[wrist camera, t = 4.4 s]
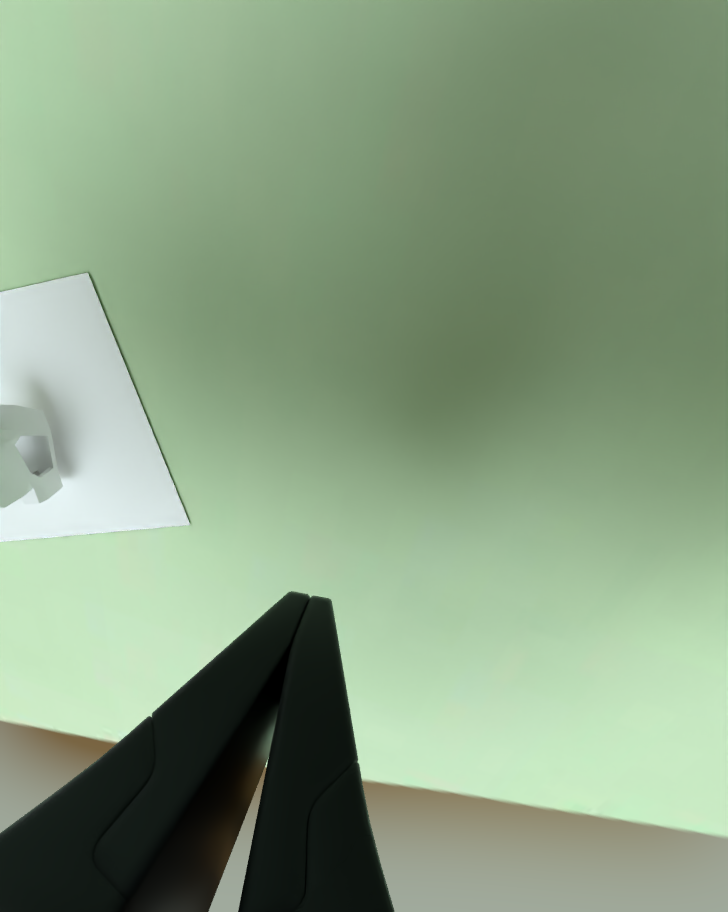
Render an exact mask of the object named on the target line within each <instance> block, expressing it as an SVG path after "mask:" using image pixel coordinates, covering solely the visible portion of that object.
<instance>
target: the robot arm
mask: <svg viewBox="0 0 728 912" xmlns="http://www.w3.org/2000/svg"><path fill="white" fill-rule="evenodd" d="M268 757H269V758H268ZM267 759H268V764H267V769H266V774H265V779H264V785H263V789H262V794H261V799H260V805H259V809H258V814H257V819H256V824H255V829H254V835H253V839H252V845H251V850H250V855H249V860H248V865H247V870H246V875H245V880H244V885H243V890H242V895H241V901H240V906H239V911H238V912H394V908H393V905H392V901H391V898H390V895H389V891H388V888H387V884H386V881H385V878H384V874H383V870H382V867H381V864H380V860H379V856H378V852H377V848H376V844H375V840H374V836H373V832H372V828H371V825H370V820H369V815H368V810H367V805H366V800H365V795H364V790H363V785H362V779H361V773H360V767H359V763H358V762H357V761H358V756H357V750H356V744H355V738H354V732H353V726H352V720H351V714H350V708H349V702H348V696H347V690H346V684H345V678H344V672H343V666H342V660H341V654H340V648H339V642H338V636H337V630H336V624H335V618H334V612H333V606H332V601H331V600H330V599H329V598H324V597H319V596H312V597H311V598H310V596H309V595H308V594H303V593H298V592H293V591H291V592H289V593H287V594H286V595H285V596H284V597H283V598H282V599H280V600H279V601H278V602H277V603H276V604H275V605H274V606H273V607H271V608H270V609H269V610H268V611H267V612H266V613H265V614H264V615H262V616H261V617H260V618H259V619H258V620H257V621H256V622H255V623H253V624H252V625H251V626H250V627H249V628H248V629H247V630H246V631H244V632H243V633H242V634H241V635H240V636H239V637H238V638H236V639H235V640H234V641H233V642H232V643H231V644H230V645H229V646H227V647H226V648H225V649H224V650H223V651H222V652H221V653H220V654H218V655H217V656H216V657H215V658H214V659H213V660H212V661H211V662H209V663H208V664H207V665H206V666H205V667H204V668H203V669H201V670H200V671H199V672H198V673H197V674H196V675H195V676H194V677H192V678H191V679H190V680H189V681H188V682H187V683H186V684H185V685H183V686H182V687H181V688H180V689H179V690H178V691H177V692H176V693H174V694H173V695H172V696H171V697H170V698H169V699H168V700H167V701H165V702H164V703H163V704H162V705H161V706H160V707H159V708H157V709H156V710H155V711H154V712H153V713H152V717H150V716H149V717H147V718H146V719H145V720H144V721H142V722H141V723H140V724H139V725H138V726H137V727H136V728H135V729H134V730H132V731H131V732H130V733H129V734H128V735H127V736H125V737H124V738H123V739H122V740H121V741H120V742H118V743H117V744H116V745H115V746H114V747H112V748H111V749H110V750H109V751H108V752H107V753H105V754H104V755H103V756H102V757H101V758H99V759H98V760H97V761H96V762H94V763H93V764H92V765H90V766H89V767H88V768H87V769H85V770H84V771H83V772H81V773H80V774H79V775H77V776H76V777H75V778H74V779H72V780H71V781H70V782H68V783H67V784H66V785H64V786H63V787H62V788H61V789H59V790H58V791H57V792H55V793H54V794H52V795H51V796H50V797H48V798H47V799H46V800H44V801H43V802H42V803H40V804H39V805H38V806H36V807H35V808H34V809H32V810H31V811H30V812H28V813H27V814H26V815H24V816H23V817H21V818H20V819H19V820H17V821H16V822H15V823H13V824H12V825H11V826H10V827H8V828H7V829H5V830H4V831H3V832H1V833H0V912H208V911H209V908H210V906H211V903H212V901H213V898H214V896H215V893H216V890H217V888H218V885H219V883H220V880H221V878H222V875H223V873H224V870H225V867H226V865H227V862H228V860H229V857H230V854H231V852H232V849H233V847H234V844H235V842H236V839H237V836H238V834H239V831H240V829H241V826H242V824H243V821H244V819H245V816H246V813H247V811H248V808H249V806H250V803H251V800H252V798H253V795H254V792H255V790H256V788H257V785H258V783H259V780H260V777H261V775H262V772H263V770H264V767H265V765H266V762H267Z"/></svg>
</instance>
